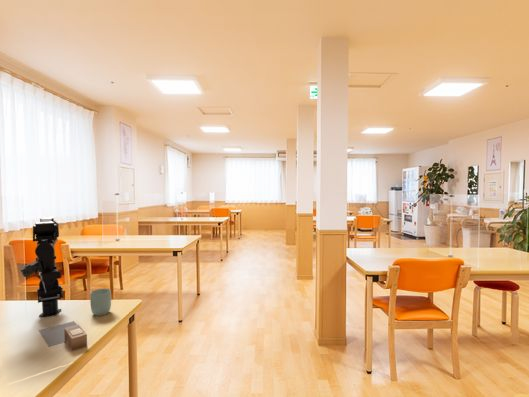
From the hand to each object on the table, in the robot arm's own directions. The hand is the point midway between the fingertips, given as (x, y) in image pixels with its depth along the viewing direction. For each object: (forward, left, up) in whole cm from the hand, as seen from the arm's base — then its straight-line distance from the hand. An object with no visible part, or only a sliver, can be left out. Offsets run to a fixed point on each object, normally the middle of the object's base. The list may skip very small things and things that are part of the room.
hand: (47, 293), depth 130 cm
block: (+15, +13, -10) cm, 22 cm away
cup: (-8, +17, -13) cm, 23 cm away
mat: (+9, +8, -13) cm, 18 cm away
